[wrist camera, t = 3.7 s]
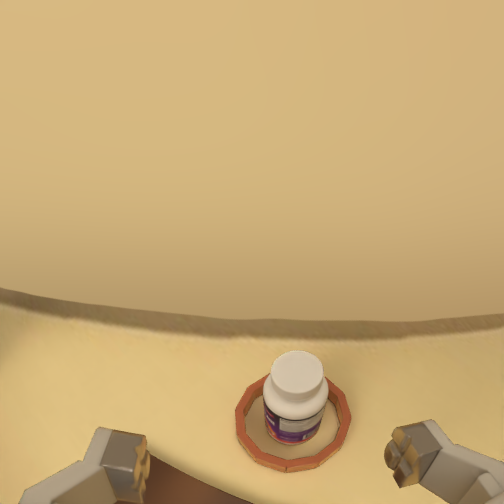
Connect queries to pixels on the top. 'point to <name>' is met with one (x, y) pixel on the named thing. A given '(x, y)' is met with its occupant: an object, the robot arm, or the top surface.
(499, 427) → the top surface
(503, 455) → the top surface
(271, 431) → the pill bottle
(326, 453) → the ring
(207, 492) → the board
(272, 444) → the top surface
